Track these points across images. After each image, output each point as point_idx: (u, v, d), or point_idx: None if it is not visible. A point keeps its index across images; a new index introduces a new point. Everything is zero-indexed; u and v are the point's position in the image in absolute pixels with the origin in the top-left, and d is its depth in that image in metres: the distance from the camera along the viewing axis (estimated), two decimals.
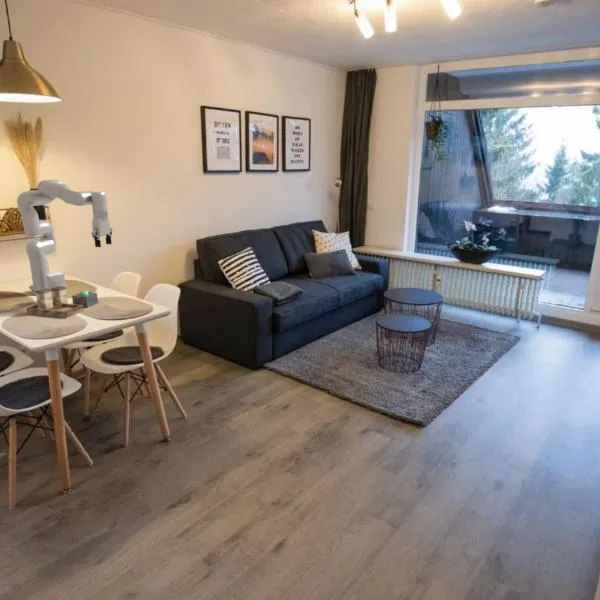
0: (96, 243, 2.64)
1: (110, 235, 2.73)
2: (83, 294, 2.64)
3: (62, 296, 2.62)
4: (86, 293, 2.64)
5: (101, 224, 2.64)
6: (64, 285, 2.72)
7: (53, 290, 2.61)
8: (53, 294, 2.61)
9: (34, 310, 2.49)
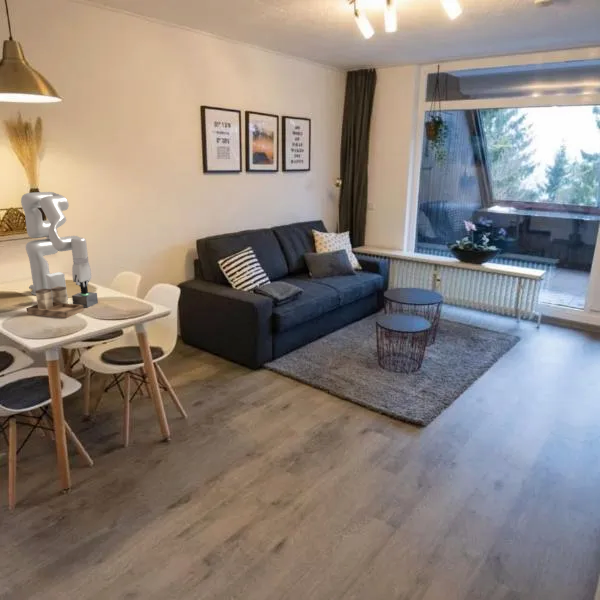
0: (82, 290, 2.63)
1: (87, 284, 2.65)
2: None
3: (62, 296, 2.62)
4: None
5: (82, 271, 2.58)
6: (64, 285, 2.72)
7: (53, 290, 2.61)
8: (53, 294, 2.61)
9: (34, 310, 2.49)
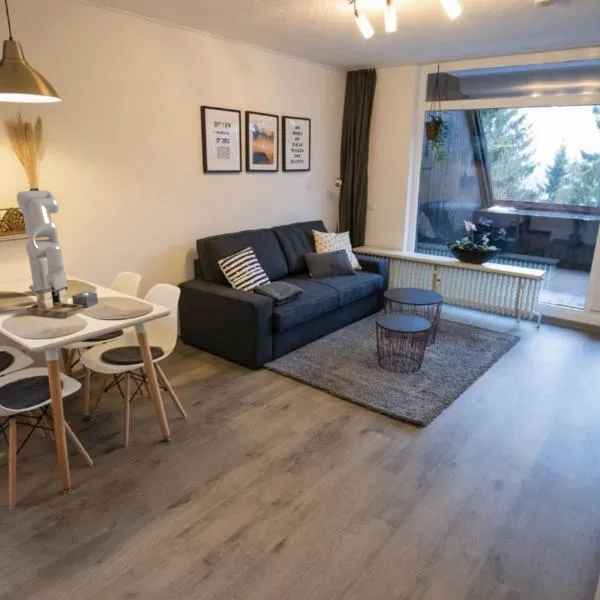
0: (54, 299, 2.60)
1: None
2: None
3: (61, 296, 2.62)
4: None
5: (56, 279, 2.57)
6: None
7: None
8: None
9: (34, 310, 2.49)
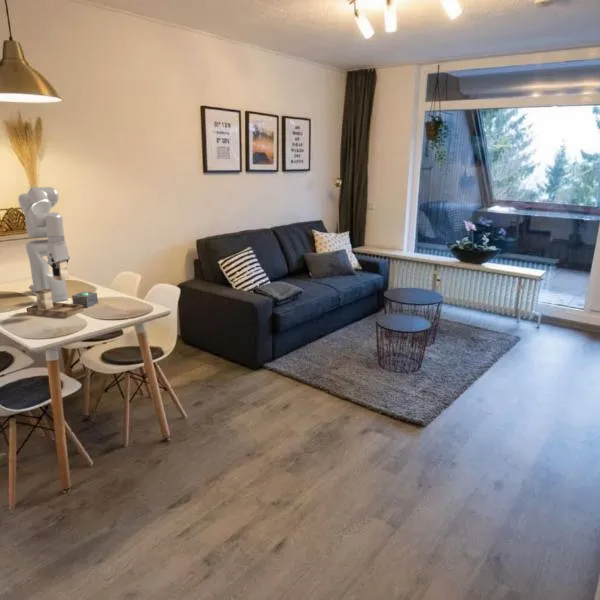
0: (54, 272, 2.42)
1: None
2: None
3: (62, 268, 2.44)
4: None
5: (57, 250, 2.40)
6: (64, 285, 2.72)
7: None
8: None
9: (34, 310, 2.49)
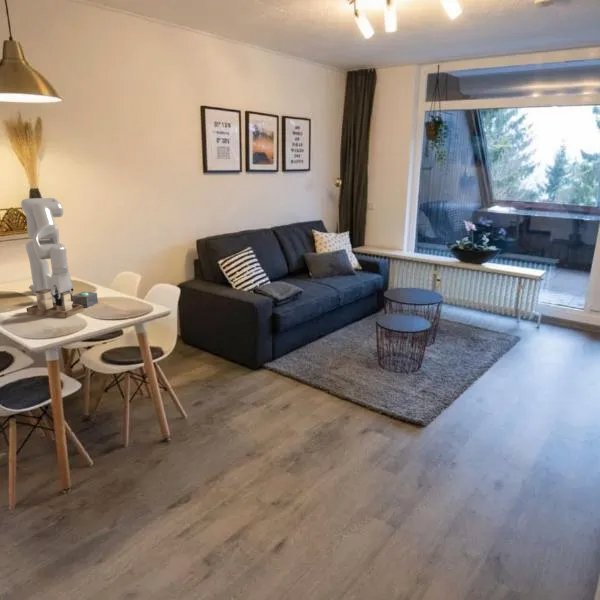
0: (57, 302, 2.46)
1: (71, 292, 2.53)
2: None
3: (66, 300, 2.49)
4: None
5: (61, 281, 2.44)
6: None
7: (57, 294, 2.47)
8: None
9: (34, 310, 2.49)
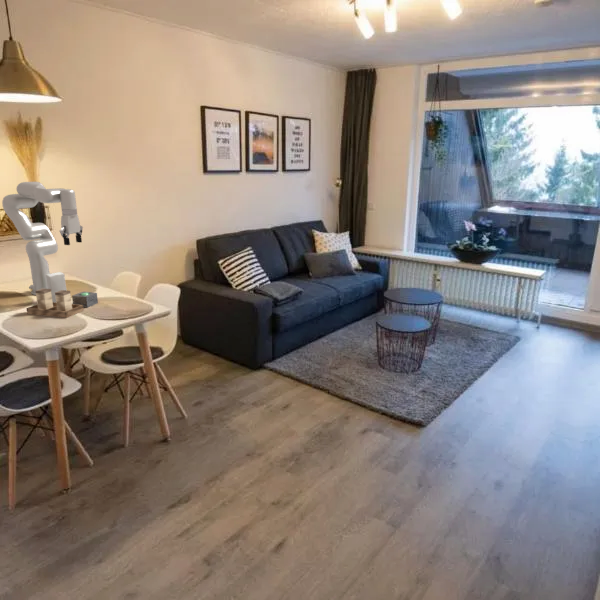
0: (65, 241, 2.62)
1: (80, 233, 2.71)
2: None
3: (66, 300, 2.49)
4: None
5: (70, 222, 2.61)
6: (64, 285, 2.72)
7: (57, 294, 2.47)
8: (57, 299, 2.48)
9: (34, 310, 2.49)
